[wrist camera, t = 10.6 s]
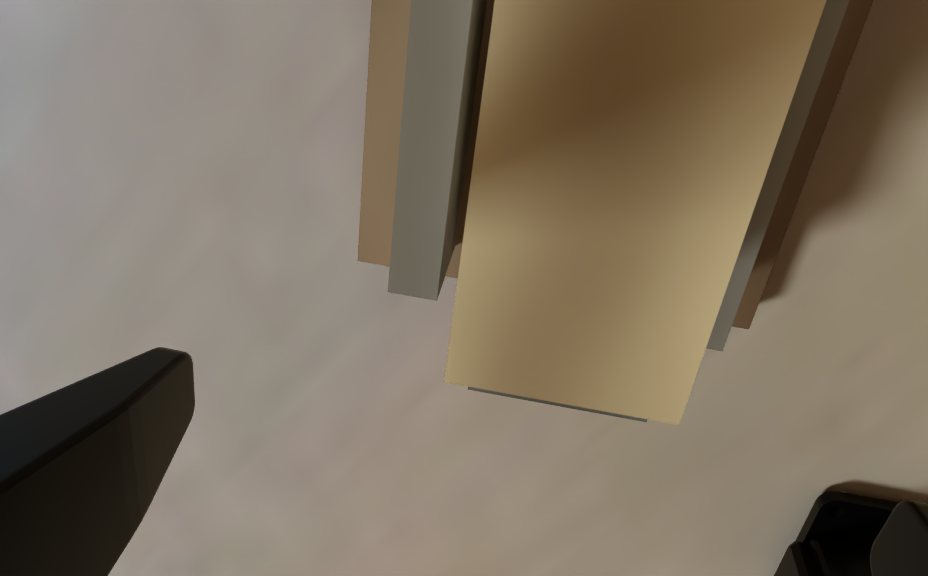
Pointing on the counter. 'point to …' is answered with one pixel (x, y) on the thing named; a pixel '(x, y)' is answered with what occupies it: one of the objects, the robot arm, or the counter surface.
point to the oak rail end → (616, 192)
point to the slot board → (455, 130)
